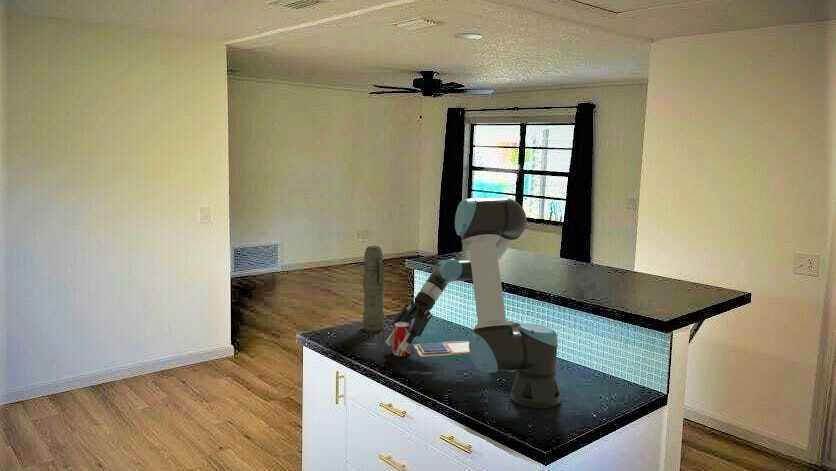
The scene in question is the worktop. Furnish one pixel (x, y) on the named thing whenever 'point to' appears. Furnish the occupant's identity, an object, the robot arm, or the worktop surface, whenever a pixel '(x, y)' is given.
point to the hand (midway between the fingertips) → (394, 346)
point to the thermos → (373, 289)
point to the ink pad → (433, 348)
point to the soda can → (400, 338)
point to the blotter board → (431, 354)
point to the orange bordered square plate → (458, 347)
